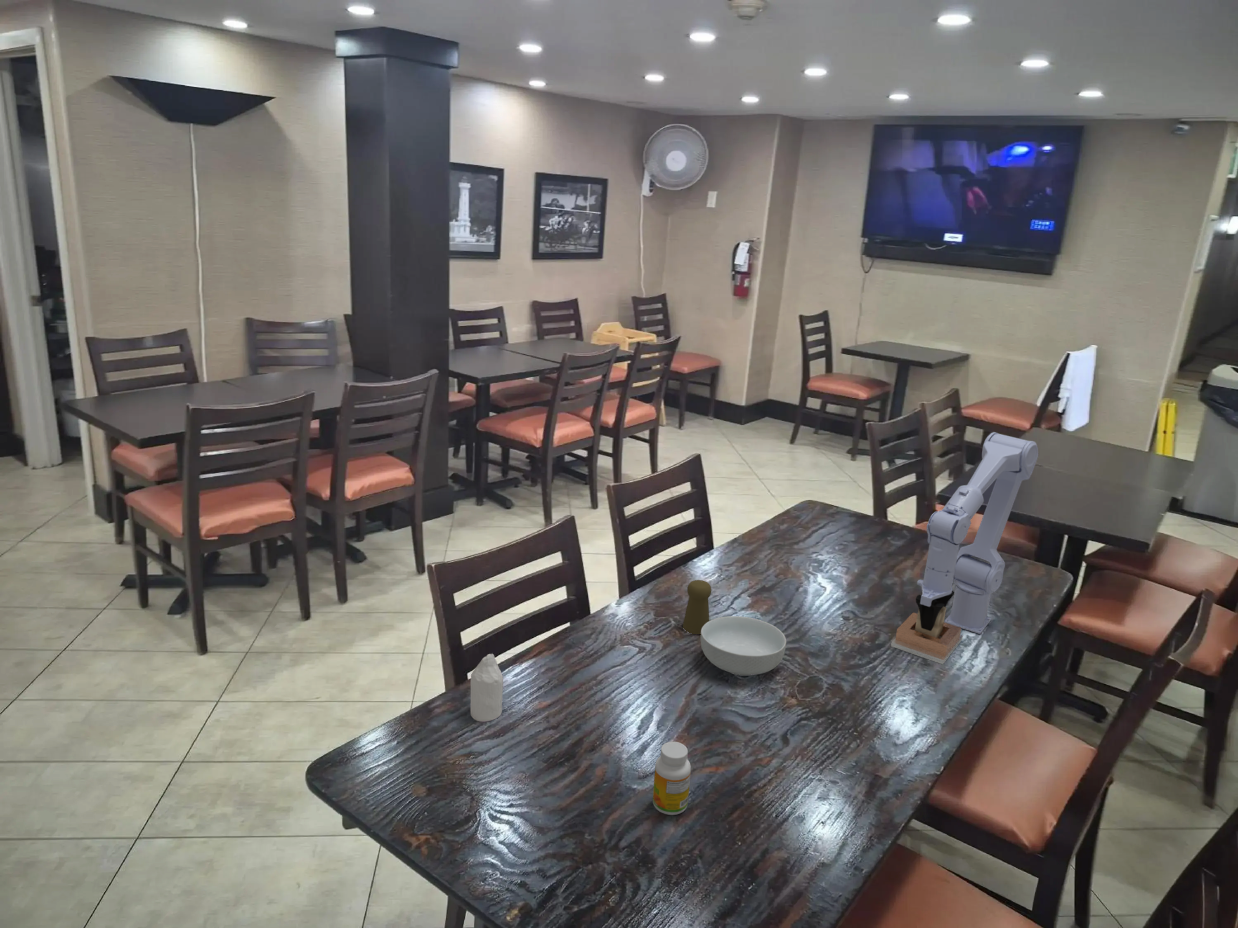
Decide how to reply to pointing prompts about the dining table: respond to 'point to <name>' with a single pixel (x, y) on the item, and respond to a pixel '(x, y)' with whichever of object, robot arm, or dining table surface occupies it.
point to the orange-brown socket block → (927, 641)
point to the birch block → (937, 626)
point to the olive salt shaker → (697, 606)
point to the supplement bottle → (672, 779)
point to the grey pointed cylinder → (486, 690)
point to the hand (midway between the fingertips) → (930, 624)
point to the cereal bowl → (742, 645)
